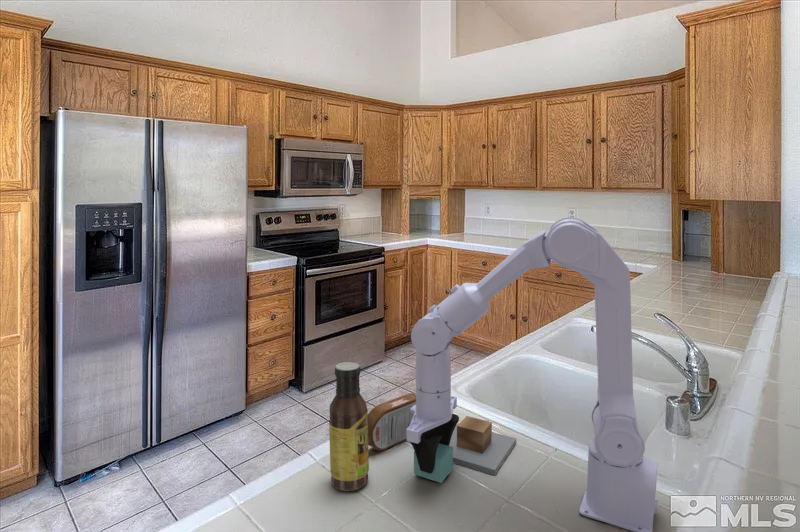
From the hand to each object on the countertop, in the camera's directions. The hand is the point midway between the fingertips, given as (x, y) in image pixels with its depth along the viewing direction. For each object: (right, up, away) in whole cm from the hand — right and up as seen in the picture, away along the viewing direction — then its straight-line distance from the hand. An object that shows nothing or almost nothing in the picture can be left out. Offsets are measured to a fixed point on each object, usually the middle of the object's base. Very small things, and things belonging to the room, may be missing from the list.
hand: (433, 463), depth 79 cm
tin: (-6, -1, +11) cm, 13 cm away
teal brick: (0, -1, 0) cm, 1 cm away
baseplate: (+8, -1, +8) cm, 12 cm away
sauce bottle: (-14, -3, -1) cm, 14 cm away
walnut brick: (+8, 0, +8) cm, 11 cm away
